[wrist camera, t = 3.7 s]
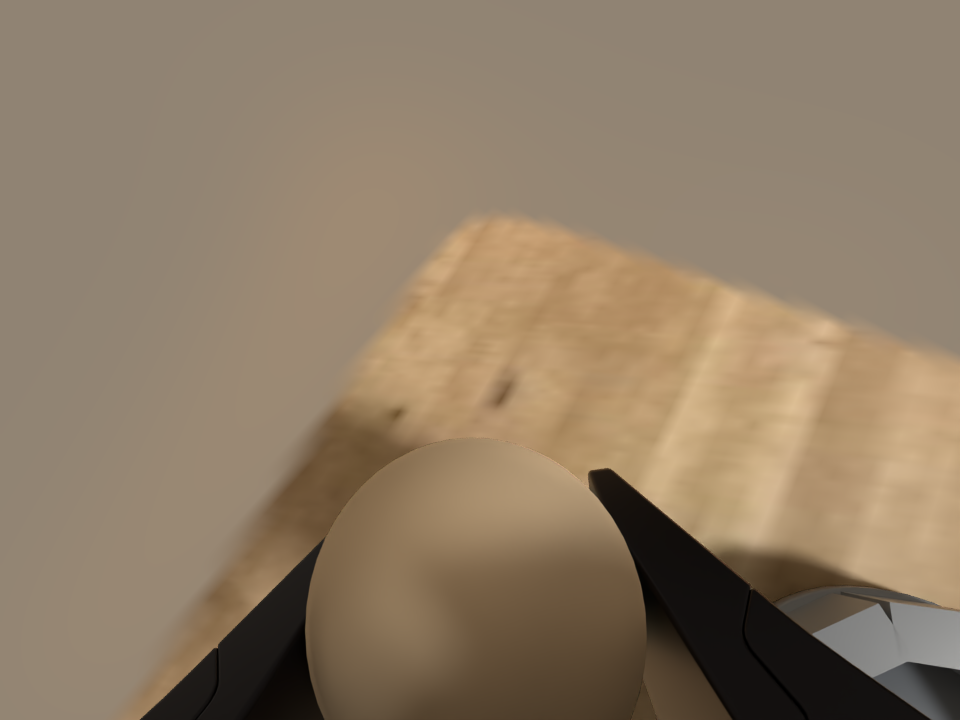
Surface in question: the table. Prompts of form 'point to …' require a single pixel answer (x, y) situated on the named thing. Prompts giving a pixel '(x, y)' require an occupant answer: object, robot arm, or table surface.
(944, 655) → the holder
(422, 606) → the peg
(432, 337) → the table surface
